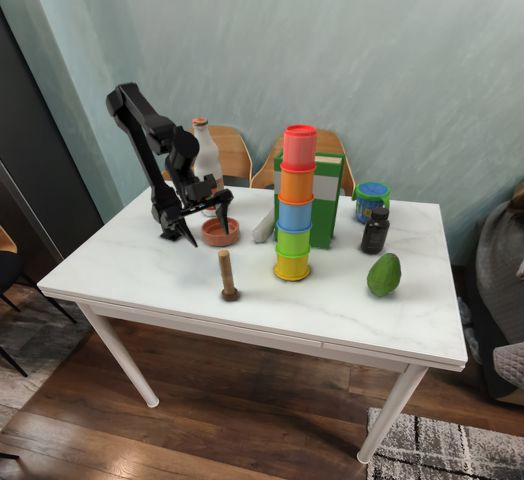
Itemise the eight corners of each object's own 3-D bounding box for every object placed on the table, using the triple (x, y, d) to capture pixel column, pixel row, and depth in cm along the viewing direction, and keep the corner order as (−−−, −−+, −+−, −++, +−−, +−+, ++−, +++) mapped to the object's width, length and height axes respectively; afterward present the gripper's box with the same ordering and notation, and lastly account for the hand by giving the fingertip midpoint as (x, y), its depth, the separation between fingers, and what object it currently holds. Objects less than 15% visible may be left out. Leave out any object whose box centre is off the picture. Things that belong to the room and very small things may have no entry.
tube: (266, 235, 94) (295, 199, 108) (251, 227, 94) (282, 192, 108) (262, 248, 99) (291, 212, 112) (247, 240, 99) (278, 205, 113)
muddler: (219, 298, 83) (210, 255, 72) (228, 289, 85) (221, 245, 74) (232, 303, 81) (225, 260, 71) (241, 293, 83) (236, 250, 73)
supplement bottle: (386, 247, 94) (398, 209, 85) (375, 257, 91) (386, 219, 82) (367, 240, 97) (376, 202, 88) (355, 249, 94) (363, 211, 85)
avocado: (375, 306, 78) (388, 266, 69) (357, 288, 83) (367, 249, 74) (400, 296, 80) (417, 257, 71) (382, 279, 85) (394, 240, 75)
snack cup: (393, 225, 102) (402, 194, 94) (366, 233, 100) (374, 202, 92) (365, 205, 111) (372, 176, 103) (340, 212, 109) (345, 182, 101)
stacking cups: (268, 266, 91) (264, 127, 64) (299, 257, 93) (307, 119, 66) (283, 286, 85) (286, 141, 58) (315, 275, 87) (332, 132, 60)
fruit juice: (231, 211, 113) (220, 119, 91) (210, 219, 110) (193, 126, 88) (218, 202, 118) (205, 113, 96) (197, 210, 114) (178, 119, 93)
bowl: (196, 241, 101) (193, 230, 98) (217, 224, 107) (215, 213, 104) (226, 251, 97) (225, 239, 93) (246, 232, 103) (245, 221, 100)
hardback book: (333, 237, 99) (345, 154, 81) (328, 249, 95) (340, 164, 76) (281, 229, 103) (282, 148, 85) (274, 240, 99) (273, 158, 81)
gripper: (151, 174, 64) (186, 245, 68) (226, 152, 71) (254, 218, 74) (147, 196, 74) (178, 257, 78) (213, 175, 81) (239, 232, 84)
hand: (212, 241), depth 78 cm, fingers open, 9 cm apart
